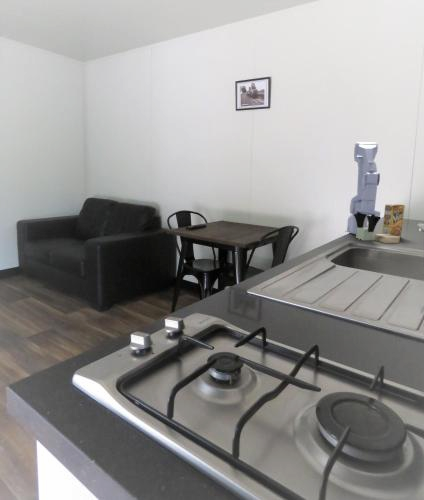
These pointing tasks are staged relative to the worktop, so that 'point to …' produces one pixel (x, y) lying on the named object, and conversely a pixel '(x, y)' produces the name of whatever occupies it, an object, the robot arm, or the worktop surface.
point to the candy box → (393, 219)
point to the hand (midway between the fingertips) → (365, 230)
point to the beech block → (387, 238)
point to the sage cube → (364, 234)
